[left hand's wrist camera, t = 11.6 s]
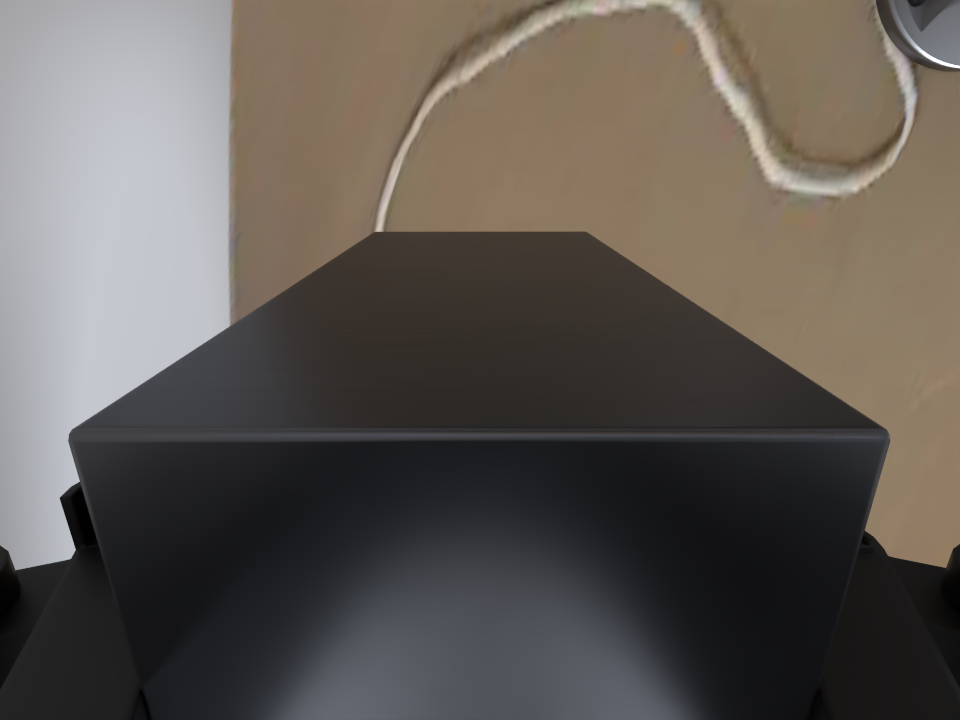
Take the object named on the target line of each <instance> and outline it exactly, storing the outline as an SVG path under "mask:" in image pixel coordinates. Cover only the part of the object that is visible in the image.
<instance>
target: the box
mask: <svg viewBox="0 0 960 720" xmlns="http://www.w3.org/2000/svg"><path fill="white" fill-rule="evenodd" d="M68 441H69V445H70V448H71V452H72V455H73V458H74V462H75V466H76V469H77V472H78V476H79V479H80V483H81V486H82V490H83V493H84V497H85V500H86V503H87V507H88V510H89V514H90V517H91V521H92V524H93V528H94V531H95V534H96V538H97V541H98V545H99V548H100V552H101V555H102V559H103V562H104V565H105V569H106V572H107V576H108V579H109V583H110V586H111V590H112V593H113V596H114V600H115V603H116V607H117V610H118V614H119V617H120V621H121V624H122V627H123V631H124V634H125V638H126V641H127V645H128V648H129V652H130V655H131V658H132V662H133V665H134V669H135V672H136V676H137V679H138V683H139V686H140V689H141V693H142V696H143V700H144V703H145V707H146V710H147V714H148V717H149V720H810V718H811V715H812V712H813V708H814V705H815V701H816V698H817V694H818V691H819V687H820V684H821V680H822V677H823V673H824V670H825V666H826V663H827V659H828V656H829V652H830V649H831V645H832V642H833V638H834V635H835V631H836V628H837V624H838V621H839V617H840V614H841V611H842V607H843V604H844V600H845V597H846V593H847V590H848V586H849V583H850V579H851V576H852V572H853V569H854V565H855V562H856V558H857V555H858V551H859V548H860V544H861V541H862V537H863V534H864V530H865V527H866V523H867V520H868V516H869V513H870V509H871V506H872V503H873V499H874V496H875V492H876V489H877V485H878V482H879V478H880V475H881V471H882V468H883V464H884V461H885V457H886V454H887V450H888V447H889V443H890V436H889V433H888V431H887V430H886V429H885V428H883V427H882V426H880V425H879V424H877V423H876V422H874V421H873V420H871V419H870V418H868V417H867V416H865V415H864V414H862V413H861V412H859V411H857V410H856V409H854V408H853V407H851V406H850V405H848V404H847V403H845V402H844V401H842V400H841V399H839V398H838V397H836V396H835V395H833V394H832V393H830V392H829V391H827V390H826V389H824V388H823V387H821V386H820V385H818V384H817V383H815V382H813V381H812V380H810V379H809V378H807V377H806V376H804V375H803V374H801V373H800V372H798V371H797V370H795V369H794V368H792V367H791V366H789V365H788V364H786V363H785V362H783V361H782V360H780V359H779V358H777V357H776V356H774V355H773V354H771V353H769V352H768V351H766V350H765V349H763V348H762V347H760V346H759V345H757V344H756V343H754V342H753V341H751V340H750V339H748V338H747V337H745V336H744V335H742V334H741V333H739V332H738V331H736V330H735V329H733V328H732V327H730V326H728V325H727V324H725V323H724V322H722V321H721V320H719V319H718V318H716V317H715V316H713V315H712V314H710V313H709V312H707V311H706V310H704V309H703V308H701V307H700V306H698V305H697V304H695V303H694V302H692V301H691V300H689V299H688V298H686V297H684V296H683V295H681V294H680V293H678V292H677V291H675V290H674V289H672V288H671V287H669V286H668V285H666V284H665V283H663V282H662V281H660V280H659V279H657V278H656V277H654V276H653V275H651V274H650V273H648V272H647V271H645V270H644V269H642V268H640V267H639V266H637V265H636V264H634V263H633V262H631V261H630V260H628V259H627V258H625V257H624V256H622V255H621V254H619V253H618V252H616V251H615V250H613V249H612V248H610V247H609V246H607V245H606V244H604V243H603V242H601V241H599V240H598V239H596V238H595V237H593V236H592V235H590V234H589V233H587V232H374V233H372V234H371V235H369V236H368V237H366V238H365V239H363V240H362V241H360V242H359V243H357V244H355V245H354V246H352V247H351V248H349V249H348V250H346V251H345V252H343V253H342V254H340V255H339V256H337V257H336V258H334V259H333V260H331V261H329V262H328V263H326V264H325V265H323V266H322V267H320V268H319V269H317V270H316V271H314V272H313V273H311V274H310V275H308V276H306V277H305V278H303V279H302V280H300V281H299V282H297V283H296V284H294V285H293V286H291V287H290V288H288V289H287V290H285V291H284V292H282V293H280V294H279V295H277V296H276V297H274V298H273V299H271V300H270V301H268V302H267V303H265V304H264V305H262V306H261V307H259V308H257V309H256V310H254V311H253V312H251V313H250V314H248V315H247V316H245V317H244V318H242V319H241V320H239V321H238V322H236V323H235V324H233V325H231V326H230V327H228V328H227V329H225V330H224V331H222V332H221V333H219V334H218V335H216V336H215V337H213V338H212V339H210V340H209V341H207V342H206V343H204V344H202V345H201V346H199V347H198V348H196V349H195V350H193V351H192V352H190V353H189V354H187V355H186V356H184V357H182V358H181V359H179V360H178V361H176V362H175V363H173V364H172V365H170V366H169V367H167V368H166V369H164V370H163V371H161V372H160V373H158V374H156V375H155V376H153V377H152V378H150V379H149V380H147V381H146V382H144V383H143V384H141V385H140V386H138V387H137V388H135V389H133V390H132V391H130V392H129V393H127V394H126V395H124V396H123V397H121V398H120V399H118V400H117V401H115V402H114V403H112V404H111V405H109V406H107V407H106V408H104V409H103V410H101V411H100V412H98V413H97V414H95V415H94V416H92V417H91V418H89V419H88V420H86V421H85V422H83V423H81V424H80V425H78V426H77V427H75V428H74V429H72V431H71V432H70V434H69V440H68Z"/></svg>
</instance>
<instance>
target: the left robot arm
mask: <svg viewBox="0 0 960 720" xmlns="http://www.w3.org/2000/svg"><path fill="white" fill-rule="evenodd" d="M876 4H877V8H878V13H879V16H880V19H881V22H882V24H883V26H884V28H885V31H886V32H887V34H888V36H889V37H890V39H891V41H892V42H893V43H894V44H895V45H896V47H897V48H898V49H899V50H900V51H901V52H902V53H903V54H904V55H906V56H907V57H908V58H910V59H911V60H913V61H915V62H917V63H918V64H920V65H923V66H925V67H928V68H932V69H936V70H942V71H960V0H876ZM60 501H61V504H62V507H63V510H64V513H65V516H66V520H67V523H68V526H69V529H70V532H71V535H72V538H73V542H74V545H75V548H76V551H75V553H74V555H73V556H72V558H71V559H70V560H66V561H61V562H55V563H51V564H45V565H40V566H35V567H31V568H25V569H20V570H15V568H14V566H13V563H12V560H11V557H10V555H9V552H8V551H7V550H6V549H4V548H3V547H1V546H0V720H149V717H148V714H147V710H146V707H145V703H144V700H143V696H142V693H141V689H140V686H139V683H138V679H137V676H136V672H135V669H134V665H133V662H132V658H131V655H130V652H129V648H128V645H127V641H126V638H125V634H124V631H123V627H122V624H121V621H120V617H119V614H118V610H117V607H116V603H115V600H114V596H113V593H112V590H111V586H110V583H109V579H108V576H107V572H106V569H105V565H104V562H103V559H102V555H101V552H100V548H99V545H98V541H97V538H96V534H95V531H94V528H93V524H92V521H91V517H90V514H89V510H88V507H87V503H86V500H85V497H84V493H83V490H82V486H81V483H80V482H79V483H77V484H75V485H73V486H72V487H70V488H69V489H68V490H67V491H66V492H65V493H64V494H63V495H62V496H61V497H60ZM810 720H960V544H959V545H958V546H957V547H955V548H954V549H953V551H952V554H951V556H950V559H949V562H948V564H947V567H946V568H943V567H938V566H933V565H928V564H923V563H918V562H913V561H908V560H903V559H898V558H893V557H890V556H888V555H887V554H886V552H885V550H884V548H883V547H882V546H881V545H880V544H879V543H878V541H877V540H876V539H875V538H874V537H873V536H872V535H870V534H869V533H867V532H866V531H864V534H863V537H862V541H861V544H860V548H859V551H858V555H857V558H856V562H855V565H854V569H853V572H852V576H851V579H850V583H849V586H848V590H847V593H846V597H845V600H844V604H843V607H842V611H841V614H840V617H839V621H838V624H837V628H836V631H835V635H834V638H833V642H832V645H831V649H830V652H829V656H828V659H827V663H826V666H825V670H824V673H823V677H822V680H821V684H820V687H819V691H818V694H817V698H816V701H815V705H814V708H813V712H812V715H811V718H810Z"/></svg>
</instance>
